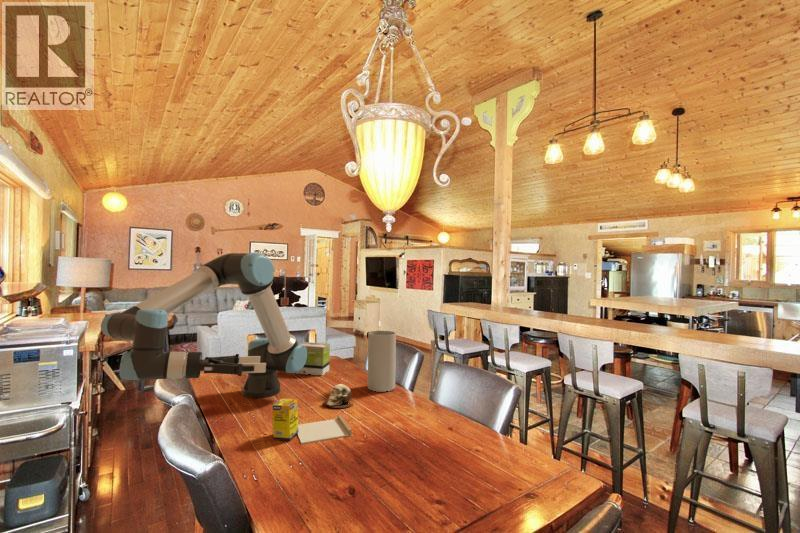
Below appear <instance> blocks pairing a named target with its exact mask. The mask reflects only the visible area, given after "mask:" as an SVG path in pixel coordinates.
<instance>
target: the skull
mask: <svg viewBox="0 0 800 533" xmlns="http://www.w3.org/2000/svg"><path fill="white" fill-rule="evenodd" d="M351 397H352V390H351V389H350V388H349V386H347V385H345V384H344V383H339V384H336V385H335V386H334V387H332V392H330V394H329V397H328V399H326V400H324V401H323V405H324V406H326V407H328V408H334V409H345V408H350V407H352V406H354V405H353V403H350V400H351ZM348 403H349V404H348Z"/></svg>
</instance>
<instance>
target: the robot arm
mask: <svg viewBox="0 0 800 533" xmlns="http://www.w3.org/2000/svg"><path fill="white" fill-rule="evenodd" d="M274 277H275V266H274V264H273V261H272V260H271V259H270V258H269V256H267V255H265V254H263V253H257V252H249V253H248V252H247V253H245V252H244V253H242V252H239V253H238V252H237V253H236V252H231V253H226V254H222V255H220V256H218V257H215V258H214V259H211V260H210V261H207V262H206V263H204V264H202V265H200V266H199V267H198V268H197V270H196V271H195V272H194V273H192V274H190V275H188V276H187V277H184V278H182V279H180V280H178V281H177V282H176V283H173V284H172V285H169V286H168V287H166V288H164V289H162V290H161V291H159V292H157V293H155V294H153V295H151V296H149V297H148V298H146V299H144V300H142V301H141V302H139V303H136V304H134V305H133V306H131V307H129V308H128V309H125V310H123V311H122V312H121V311H119V312H117V311H116V312H111V313H109V314H108V315H105V316H104V317H103V319H102V321H101V323H100V330H101V333H102V334H103V335H104V336H106V337H109V338H110V339H114V340H122V341H123V340H124V341H130V342H132V347H131V351H127V352H126V351H125V352H124V353H122V356H121V359H120V363H119V378H120V379H122V380H128V381H131V380H133V381H147V380H149V381H150V380H169V379H170V381H171V382H174V381H175V380H177V379H183V378H184V377H185V378H186V379H199V378H200V377H201V371H203V374H217V375H218V374H221V375H222V374H223V375H237V376H238V377H241V376H242V375H243V374H247V377H246V378H245V382H244V385H243V386H242V387H243V388H242V395H243V396H244V397H247V398H254V399H255V398H257V399H258V398H267V397H272V396H275V395H277V394H279V393H280V392H281V383H280V380H279V378H278V374H277V372H279V373H280V372H283V373H287V374H295V373H297V372H299V371H300V370H301V369H302V368H303V366H304V364H305V362H306V359H307V349H306V347H305V346H303V345H302V344H301V343H298V341H297V338H296V336H294V335H293V334H291V333H290V331H289V329H288V327H287V324H286V322H285V319H284V317H283V315H282V312H281V309H280V306H279V304H278V302H277V300H276V297H275V295H274V292H273V290H272V287H271V286H272V285H273V279H274ZM226 285H238V287H239V290H240V292H241V294H242V295H244V296H247V297H248V299H249V301H250V304H251V306H252V308H253V310H254V312H255V315H256V317H257V319H258V321H259V324H260V326H261V328H262V330H263V333H264V335H265V336H266V337H264V338H263V337H261V338H256V339H253V340H250V341H249V343H248V347H247V356H245V355H244V356H243V355H242V356H240V354H239V353H236V354H235V355H227V356H224V355H223V356H211V357H210V356H209V357H208V356H207V357H204V359H202V358H203V352H201V351H189V352H188V353H187V352H186V351H164V350H165V343H166V342H165V340H166V335H167V327H168V315H169V314H171V313H172V312H174V311H176V310H177V309H179V308H181V307H183V306H184V305H186V304H188V303H189V302H191V301H193V300H194V299H195V298H197V297H199V296H201V295H202V294H204V293H206V292H207V291H209V290H212V291H213V290H215V289H217V288H219V287H222V286H226ZM299 344H300V345H299Z"/></svg>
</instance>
